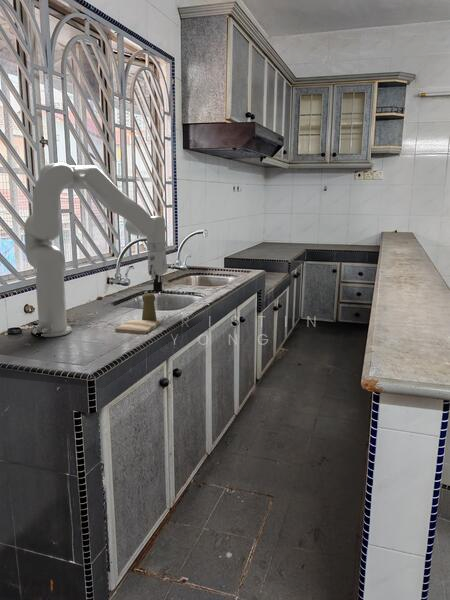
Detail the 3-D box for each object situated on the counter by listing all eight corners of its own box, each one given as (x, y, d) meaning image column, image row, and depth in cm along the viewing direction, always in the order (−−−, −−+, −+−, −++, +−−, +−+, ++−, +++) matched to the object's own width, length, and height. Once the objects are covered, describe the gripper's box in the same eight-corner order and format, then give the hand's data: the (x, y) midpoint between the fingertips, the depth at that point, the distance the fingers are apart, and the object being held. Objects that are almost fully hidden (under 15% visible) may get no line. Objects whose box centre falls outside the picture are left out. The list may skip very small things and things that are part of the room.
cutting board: (146, 334, 177) (146, 330, 176) (115, 331, 179) (115, 328, 179) (159, 324, 190) (159, 321, 190) (131, 322, 193) (131, 319, 192)
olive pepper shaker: (145, 318, 199) (145, 291, 196) (159, 319, 197) (158, 292, 195) (138, 321, 193) (138, 294, 191) (152, 323, 191) (152, 295, 189)
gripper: (158, 249, 190) (160, 295, 194) (171, 245, 204) (172, 288, 208) (140, 248, 191) (142, 294, 195) (154, 244, 206) (155, 287, 210)
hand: (157, 291), depth 202 cm, fingers closed
